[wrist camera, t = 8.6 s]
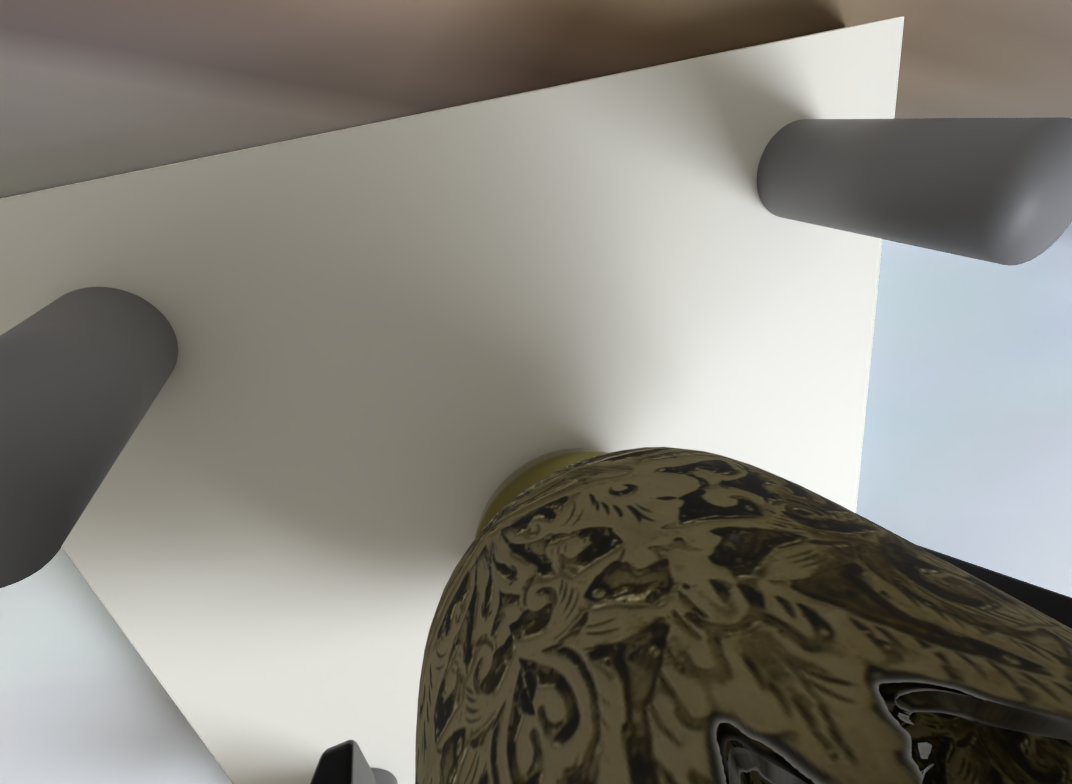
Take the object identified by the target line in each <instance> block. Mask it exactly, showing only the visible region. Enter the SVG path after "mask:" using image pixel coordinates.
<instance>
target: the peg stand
mask: <svg viewBox="0 0 1072 784" xmlns="http://www.w3.org/2000/svg"><path fill="white" fill-rule="evenodd" d="M903 24H904V16H903V17H898V18H892V19H887V20H882V21H876V22H871V23H865V24H860V25H854V26H849V27H844V28H839V29H834V30H829V31H824V32H819V33H814V34H810V35H805V36H800V37H795V38H790V39H785V40H780V41H775V42H770V43H765V44H760V45H755V46H750V47H745V48H740V49H736V50H731V51H726V52H721V53H716V54H711V55H706V56H701V57H696V58H691V59H686V60H681V61H676V62H671V63H666V64H662V65H657V66H652V67H647V68H642V69H637V70H632V71H627V72H622V73H617V74H612V75H607V76H602V77H597V78H592V79H588V80H583V81H578V82H573V83H568V84H563V85H558V86H553V87H548V88H543V89H538V90H533V91H528V92H523V93H518V94H514V95H509V96H504V97H499V98H494V99H489V100H484V101H479V102H474V103H469V104H464V105H459V106H454V107H449V108H444V109H440V110H435V111H430V112H425V113H420V114H415V115H410V116H405V117H400V118H395V119H390V120H385V121H380V122H375V123H370V124H366V125H361V126H356V127H351V128H346V129H341V130H336V131H331V132H326V133H321V134H316V135H311V136H306V137H301V138H296V139H292V140H287V141H282V142H277V143H272V144H267V145H262V146H257V147H252V148H247V149H242V150H237V151H232V152H227V153H222V154H218V155H213V156H208V157H203V158H198V159H193V160H188V161H183V162H178V163H173V164H168V165H163V166H158V167H153V168H148V169H144V170H139V171H134V172H129V173H124V174H119V175H114V176H109V177H104V178H99V179H94V180H89V181H84V182H79V183H74V184H70V185H65V186H60V187H55V188H50V189H45V190H40V191H35V192H30V193H25V194H20V195H15V196H10V197H5V198H0V588H2V587H5V586H8V585H11V584H13V583H16V582H19V581H21V580H23V579H25V578H27V577H29V576H31V575H32V574H34V573H35V572H37V571H38V570H40V569H41V568H42V567H44V566H45V565H46V564H47V563H48V562H49V561H50V560H51V559H52V558H53V557H54V556H55V555H56V553H57V552H58V551H59V549H60V548H61V547H62V548H63V549H64V551H65V552H66V554H67V555H68V556H69V558H70V559H71V561H72V562H73V563H74V565H75V566H76V567H77V569H78V570H79V572H80V573H81V574H82V576H83V577H84V578H85V580H86V581H87V583H88V584H89V585H90V587H91V588H92V589H93V591H94V592H95V594H96V595H97V596H98V598H99V599H100V601H101V602H102V603H103V605H104V606H105V607H106V609H107V610H108V612H109V613H110V614H111V616H112V617H113V618H114V620H115V621H116V623H117V624H118V625H119V627H120V628H121V629H122V631H123V632H124V634H125V635H126V636H127V638H128V639H129V640H130V642H131V643H132V645H133V646H134V647H135V649H136V650H137V652H138V653H139V654H140V656H141V657H142V658H143V660H144V661H145V663H146V664H147V665H148V667H149V668H150V669H151V671H152V672H153V674H154V675H155V676H156V678H157V679H158V680H159V682H160V683H161V685H162V686H163V687H164V689H165V690H166V692H167V693H168V694H169V696H170V697H171V698H172V700H173V701H174V703H175V704H176V705H177V707H178V708H179V709H180V711H181V712H182V714H183V715H184V716H185V718H186V719H187V720H188V722H189V723H190V725H191V726H192V727H193V729H194V730H195V732H196V733H197V734H198V736H199V737H200V738H201V740H202V741H203V743H204V744H205V745H206V747H207V748H208V749H209V751H210V752H211V754H212V755H213V756H214V758H215V759H216V760H217V762H218V763H219V765H220V766H221V767H222V769H223V770H224V772H225V773H226V774H227V776H228V777H229V778H230V780H231V781H232V783H233V784H310V782H311V779H312V777H313V774H314V772H315V769H316V767H317V764H318V762H319V759H320V757H321V755H322V754H323V752H324V751H325V750H326V749H328V748H330V747H333V746H335V745H337V744H340V743H342V742H345V741H347V740H354V741H356V742H357V744H358V745H359V747H360V749H361V751H362V753H363V755H364V757H365V759H366V761H367V762H368V764H369V766H370V768H371V770H372V772H373V775H374V778H375V781H376V784H415V747H416V724H417V707H418V695H419V684H420V676H421V670H422V663H423V656H424V650H425V646H426V642H427V637H428V633H429V629H430V626H431V623H432V620H433V618H434V615H435V612H436V609H437V606H438V604H439V601H440V598H441V596H442V593H443V590H444V588H445V586H446V584H447V582H448V580H449V578H450V576H451V574H452V572H453V570H454V569H455V567H456V566H457V564H458V563H459V561H460V560H461V558H462V557H463V555H464V554H465V552H466V551H467V549H468V548H469V546H470V545H471V543H472V542H473V541H474V539H475V534H476V530H477V526H478V523H479V520H480V517H481V515H482V512H483V510H484V508H485V506H486V504H487V502H488V500H489V499H490V497H491V496H492V494H493V493H494V491H495V490H496V489H497V488H498V486H499V485H500V484H501V483H502V482H503V481H504V480H505V479H506V478H507V477H508V476H509V475H510V474H511V473H513V472H514V471H515V470H516V469H518V468H519V467H521V466H522V465H524V464H525V463H527V462H529V461H531V460H532V459H535V458H537V457H539V456H541V455H544V454H547V453H550V452H554V451H558V450H563V449H570V448H585V449H594V450H599V451H604V452H609V453H611V452H616V451H621V450H628V449H636V448H643V447H671V448H680V449H690V450H698V451H705V452H709V453H714V454H718V455H722V456H725V457H728V458H732V459H735V460H738V461H741V462H744V463H747V464H750V465H753V466H755V467H758V468H760V469H763V470H765V471H768V472H770V473H773V474H775V475H777V476H780V477H782V478H784V479H787V480H789V481H791V482H794V483H796V484H798V485H800V486H802V487H804V488H806V489H809V490H811V491H813V492H815V493H817V494H819V495H821V496H823V497H825V498H827V499H829V500H831V501H833V502H835V503H837V504H839V505H841V506H843V507H845V508H847V509H848V510H850V511H852V512H854V513H856V506H857V496H858V486H859V476H860V465H861V455H862V445H863V435H864V424H865V414H866V404H867V394H868V383H869V373H870V363H871V353H872V342H873V332H874V322H875V311H876V301H877V291H878V281H879V270H880V260H881V250H882V240H883V239H885V240H890V241H894V242H899V243H904V244H909V245H913V246H918V247H923V248H928V249H932V250H937V251H942V252H946V253H951V254H956V255H961V256H965V257H970V258H975V259H979V260H984V261H989V262H994V263H998V264H1003V265H1018V264H1022V263H1025V262H1027V261H1030V260H1032V259H1033V258H1035V257H1037V256H1038V255H1040V254H1041V253H1043V252H1044V251H1045V250H1047V249H1048V248H1049V247H1050V246H1051V245H1052V244H1053V243H1054V242H1055V241H1056V240H1057V239H1058V238H1059V237H1060V236H1061V235H1062V234H1063V232H1064V231H1065V230H1066V228H1067V227H1068V226H1069V224H1070V223H1071V221H1072V119H1070V118H930V119H894V116H895V106H896V96H897V86H898V75H899V65H900V55H901V45H902V34H903Z"/></svg>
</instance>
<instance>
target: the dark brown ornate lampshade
mask: <svg viewBox="0 0 1072 784" xmlns="http://www.w3.org/2000/svg"><path fill="white" fill-rule="evenodd" d="M415 784H1072V629H1071V628H1069V627H1068V626H1066V625H1064V624H1062V623H1060V622H1058V621H1056V620H1055V619H1053V618H1051V617H1049V616H1047V615H1045V614H1043V613H1042V612H1040V611H1038V610H1036V609H1034V608H1032V607H1030V606H1029V605H1027V604H1025V603H1023V602H1021V601H1019V600H1017V599H1016V598H1014V597H1012V596H1010V595H1008V594H1006V593H1004V592H1003V591H1001V590H999V589H997V588H995V587H993V586H991V585H990V584H988V583H986V582H984V581H982V580H980V579H978V578H977V577H975V576H973V575H971V574H969V573H967V572H965V571H964V570H962V569H960V568H958V567H956V566H954V565H952V564H951V563H949V562H947V561H945V560H943V559H941V558H939V557H937V556H936V555H934V554H932V553H930V552H928V551H926V550H924V549H922V548H921V547H919V546H917V545H915V544H913V543H911V542H909V541H907V540H906V539H904V538H902V537H900V536H898V535H896V534H894V533H892V532H890V531H888V530H887V529H885V528H883V527H881V526H879V525H877V524H875V523H873V522H871V521H870V520H868V519H866V518H864V517H862V516H860V515H858V514H856V513H854V512H852V511H850V510H848V509H847V508H845V507H843V506H841V505H839V504H837V503H835V502H833V501H831V500H829V499H827V498H825V497H823V496H821V495H819V494H817V493H815V492H813V491H811V490H809V489H806V488H804V487H802V486H800V485H798V484H796V483H794V482H791V481H789V480H787V479H784V478H782V477H780V476H777V475H775V474H773V473H770V472H768V471H765V470H763V469H760V468H758V467H755V466H753V465H750V464H747V463H744V462H741V461H738V460H735V459H732V458H728V457H725V456H722V455H718V454H714V453H709V452H705V451H698V450H690V449H680V448H671V447H643V448H636V449H628V450H621V451H616V452H611V453H609V452H604V451H599V450H594V449H585V448H570V449H563V450H558V451H554V452H550V453H547V454H544V455H541V456H539V457H537V458H535V459H532V460H531V461H529V462H527V463H525V464H524V465H522V466H521V467H519V468H518V469H516V470H515V471H514V472H513V473H511V474H510V475H509V476H508V477H507V478H506V479H505V480H504V481H503V482H502V483H501V484H500V485H499V486H498V488H497V489H496V490H495V491H494V493H493V494H492V496H491V497H490V499H489V500H488V502H487V504H486V506H485V508H484V510H483V512H482V515H481V517H480V520H479V523H478V526H477V530H476V534H475V539H474V541H473V542H472V543H471V545H470V546H469V548H468V549H467V551H466V552H465V554H464V555H463V557H462V558H461V560H460V561H459V563H458V564H457V566H456V567H455V569H454V570H453V572H452V574H451V576H450V578H449V580H448V582H447V584H446V586H445V588H444V590H443V593H442V596H441V598H440V601H439V604H438V606H437V609H436V612H435V615H434V618H433V620H432V623H431V626H430V629H429V633H428V637H427V642H426V646H425V650H424V656H423V663H422V670H421V676H420V684H419V695H418V707H417V724H416V747H415Z"/></svg>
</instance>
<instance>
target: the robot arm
mask: <svg viewBox="0 0 1072 784" xmlns="http://www.w3.org/2000/svg"><path fill="white" fill-rule="evenodd" d="M917 546H918V545H917ZM919 547H921V546H919ZM921 548H922V549H924V550H926V551H928V552H930V553H932V554H934V555H936V556H937V557H939V558H941V559H943V560H945V561H947V562H949V563H951V564H952V565H954V566H956V567H958V568H960V569H962V570H964V571H965V572H967V573H969V574H971V575H973V576H975V577H977V578H978V579H980V580H982V581H984V582H986V583H988V584H990V585H991V586H993V587H995V588H997V589H999V590H1001V591H1003V592H1004V593H1006V594H1008V595H1010V596H1012V597H1014V598H1016V599H1017V600H1019V601H1021V602H1023V603H1025V604H1027V605H1029V606H1030V607H1032V608H1034V609H1036V610H1038V611H1040V612H1042V613H1043V614H1045V615H1047V616H1049V617H1051V618H1053V619H1055V620H1056V621H1058V622H1060V623H1062V624H1064V625H1066V626H1068V627H1069V628H1071V629H1072V598H1071V597H1068V596H1065V595H1062V594H1059V593H1056V592H1053V591H1050V590H1047V589H1044V588H1041V587H1038V586H1035V585H1033V584H1030V583H1027V582H1024V581H1021V580H1018V579H1015V578H1012V577H1009V576H1006V575H1003V574H1000V573H997V572H994V571H992V570H989V569H986V568H983V567H980V566H977V565H974V564H971V563H968V562H965V561H962V560H959V559H956V558H953V557H950V556H948V555H945V554H942V553H939V552H936V551H933V550H930V549H927V548H924V547H921ZM310 784H376V781H375V778H374V775H373V772H372V770H371V768H370V766H369V764H368V762H367V761H366V759H365V757H364V755H363V753H362V751H361V749H360V747H359V745H358V744H357V742H356V741H354V740H347V741H345V742H342V743H340V744H337V745H335V746H333V747H330V748H328V749H326V750H325V751H324V752H323V754H322V755H321V757H320V759H319V762H318V764H317V767H316V769H315V772H314V774H313V777H312V779H311V782H310Z"/></svg>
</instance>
